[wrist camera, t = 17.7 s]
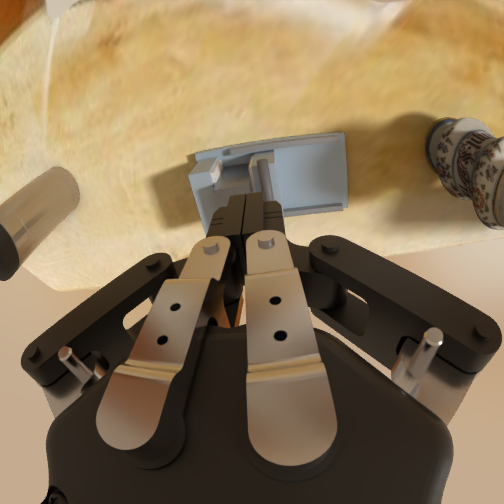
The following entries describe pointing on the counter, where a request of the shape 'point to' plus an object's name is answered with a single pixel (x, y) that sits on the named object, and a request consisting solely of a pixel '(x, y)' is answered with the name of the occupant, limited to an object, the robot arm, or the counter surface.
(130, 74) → the counter surface
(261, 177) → the free jaw
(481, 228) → the counter surface
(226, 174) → the block
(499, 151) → the apothecary jar
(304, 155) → the vise base
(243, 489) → the robot arm
